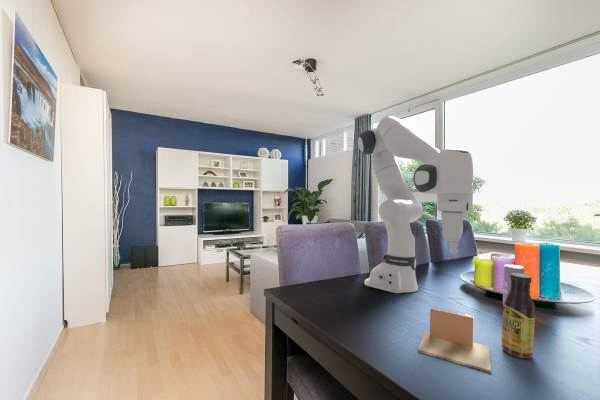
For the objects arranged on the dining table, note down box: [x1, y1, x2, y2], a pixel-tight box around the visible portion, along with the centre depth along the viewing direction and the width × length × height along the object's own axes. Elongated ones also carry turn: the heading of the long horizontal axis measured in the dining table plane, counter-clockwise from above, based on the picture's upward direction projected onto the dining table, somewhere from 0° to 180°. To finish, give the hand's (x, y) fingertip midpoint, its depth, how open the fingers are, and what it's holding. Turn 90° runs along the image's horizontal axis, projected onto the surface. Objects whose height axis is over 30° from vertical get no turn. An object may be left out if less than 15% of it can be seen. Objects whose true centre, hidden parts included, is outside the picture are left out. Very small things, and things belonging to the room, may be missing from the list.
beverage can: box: [502, 263, 526, 306], centre depth 98 cm, size 6×6×15 cm
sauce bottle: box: [501, 273, 536, 360], centre depth 68 cm, size 6×6×20 cm
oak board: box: [417, 330, 492, 374], centre depth 69 cm, size 15×12×1 cm
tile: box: [429, 306, 474, 347], centre depth 73 cm, size 10×2×8 cm, turn 57°
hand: (453, 252), depth 78 cm, fingers open, 2 cm apart
